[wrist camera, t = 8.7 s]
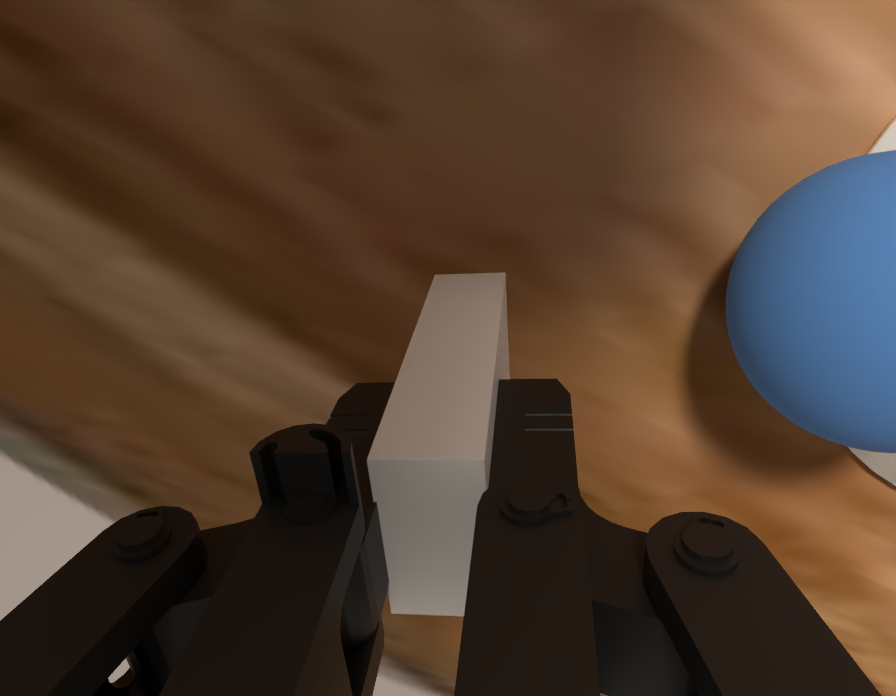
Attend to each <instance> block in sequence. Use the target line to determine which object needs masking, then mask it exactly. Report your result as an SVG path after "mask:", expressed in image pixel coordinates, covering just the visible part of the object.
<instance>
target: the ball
mask: <svg viewBox="0 0 896 696" xmlns="http://www.w3.org/2000/svg"><path fill="white" fill-rule="evenodd" d="M726 323H727V329H728V334H729V339H730V343H731V346H732V348H733V351H734V354H735V356H736V359H737V361H738V363H739V364H740V366H741V368H742V370H743V372H744V374H745V375H746V377H747V379H748V380H749V382H750V383H751V384H752V386H753V387H754V388H755V390H756V391H757V392H758V394H759V395H760V396H761V397H762V398H763V399H764V400H765V401H766V402H767V403H768V404H769V405H770V406H771V407H773V408H774V409H775V410H776V411H778V412H779V413H780V414H782V415H783V416H784V417H785V418H787V419H788V420H789V421H790V422H792V423H794V424H795V425H797V426H799V427H800V428H802V429H804V430H805V431H807V432H809V433H812V434H814V435H816V436H818V437H821V438H823V439H825V440H828V441H831V442H834V443H838V444H841V445H844V446H847V447H850V448H855V449H860V450H865V451H870V452H882V453H896V150H892V151H885V152H878V153H871V154H866V155H863V156H859V157H855V158H851V159H847V160H844V161H842V162H839V163H837V164H834V165H831V166H829V167H826V168H824V169H822V170H820V171H818V172H816V173H814V174H813V175H811V176H809V177H807V178H805V179H804V180H802V181H801V182H799V183H798V184H796V185H795V186H793V187H792V188H790V189H789V190H787V191H786V192H785V193H784V194H783V195H782V196H780V197H779V198H778V199H777V200H776V201H775V202H773V203H772V204H771V205H770V206H769V207H768V208H767V210H766V211H765V212H764V213H763V214H762V215H761V216H760V217H759V218H758V219H757V221H756V222H755V224H754V225H753V226H752V228H751V229H750V231H749V232H748V233H747V235H746V237H745V239H744V240H743V242H742V244H741V246H740V248H739V250H738V252H737V254H736V257H735V259H734V262H733V265H732V267H731V271H730V275H729V280H728V284H727V292H726Z"/></svg>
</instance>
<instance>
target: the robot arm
mask: <svg viewBox="0 0 896 696" xmlns="http://www.w3.org/2000/svg"><path fill="white" fill-rule="evenodd" d="M249 453H250V457H251V461H252V465H253V468H254V472H255V476H256V480H257V484H258V488H259V492H260V496H261V500H262V505H261V507H260V509H259V511H258V513H257V514H256V516H255V518H253V519H250V520H246V521H243V522H239V523H235V524H230V525H225V526H221V527H216V528H211V529H206V530H202V531H200V529H199V526H198V523H197V521H196V519H195V518H194V516H193V515H192V513H191V512H189V511H187V510H184V509H182V508H180V507H170V506H159V507H154V508H149V509H144V510H140V511H138V512H135V513H133V514H131V515H128V516H126V517H124V518H121V519H120V520H118V521H117V522H115V523H114V524H112V525H111V526H110V527H108V528H107V529H105V530H104V531H103V532H101V533H100V534H99V535H98V536H97V537H96V538H95V539H93V540H92V541H91V542H90V543H89V544H88V545H87V546H85V547H84V548H83V549H82V550H81V551H80V552H79V553H77V554H76V555H75V556H74V557H73V558H72V559H70V560H69V561H68V562H67V563H66V564H65V565H64V566H62V567H61V568H60V569H59V570H58V571H57V572H56V573H54V574H53V575H52V576H51V577H50V578H49V579H48V580H46V581H45V582H44V583H43V584H42V585H41V586H40V587H39V588H38V589H36V590H35V591H34V592H33V593H32V594H31V595H29V596H28V597H27V598H26V599H25V600H24V601H23V602H21V603H20V604H19V605H18V606H17V607H16V608H15V609H13V610H12V611H11V612H10V613H9V614H8V615H6V616H5V617H4V618H3V619H2V620H1V621H0V696H372V694H373V690H374V686H375V682H376V677H377V673H378V669H379V664H380V660H381V656H382V651H383V647H384V630H383V625H382V619H381V612H382V608H383V604H384V600H385V596H386V592H387V590H388V596H389V602H390V609H391V614H414V615H441V616H464V620H463V628H462V636H461V645H460V653H459V661H458V670H457V678H456V686H455V694H454V696H600V693H603V694H605V695H608V696H881V695H880V693H879V692H878V691H877V689H876V688H875V687H874V686H873V684H872V683H871V682H870V680H869V679H868V678H867V676H866V675H865V674H864V673H863V671H862V670H861V669H860V667H859V666H858V665H857V664H856V662H855V661H854V660H853V658H852V657H851V656H850V654H849V653H848V652H847V651H846V649H845V648H844V647H843V645H842V644H841V643H840V642H839V640H838V639H837V638H836V636H835V635H834V634H833V632H832V631H831V630H830V629H829V627H828V626H827V625H826V623H825V622H824V621H823V619H822V618H821V617H820V616H819V614H818V613H817V612H816V610H815V609H814V608H813V607H812V605H811V604H810V603H809V601H808V600H807V599H806V597H805V596H804V595H803V594H802V592H801V591H800V590H799V588H798V587H797V586H796V585H795V583H794V582H793V581H792V579H791V578H790V577H789V575H788V574H787V573H786V572H785V570H784V569H783V568H782V566H781V565H780V564H779V562H778V561H777V560H776V559H775V557H774V556H773V555H772V553H771V552H770V551H769V550H768V548H767V547H766V546H765V544H764V543H763V542H762V541H761V540H760V539H759V538H758V537H757V536H756V535H754V534H753V533H752V532H751V531H750V530H749V529H748V528H747V527H745V526H743V525H741V524H739V523H737V522H735V521H733V520H731V519H729V518H727V517H723V516H719V515H714V514H710V513H706V512H680V513H677V514H674V515H671V516H667V517H664V518H662V519H661V520H660V521H658V522H657V523H656V524H655V525H654V526H652V527H651V528H650V530H649V533H645V532H642V531H638V530H634V529H630V528H626V527H623V526H620V525H617V524H614V523H611V522H610V521H608V520H606V519H604V518H602V517H600V516H599V515H597V514H596V513H595V512H594V511H593V510H591V509H590V508H589V507H588V506H587V505H586V503H585V502H584V500H583V499H582V497H581V495H580V491H579V488H578V478H577V466H576V455H575V443H574V432H573V420H572V408H571V397H570V393H569V392H568V391H567V390H566V389H565V388H564V386H563V385H562V384H561V383H560V382H559V381H558V380H557V379H510V368H509V344H508V320H507V297H506V273H505V272H504V273H473V274H442V275H435V276H434V278H433V281H432V284H431V287H430V289H429V292H428V295H427V297H426V300H425V303H424V306H423V308H422V311H421V314H420V316H419V319H418V322H417V325H416V327H415V330H414V333H413V335H412V338H411V341H410V344H409V346H408V349H407V352H406V355H405V357H404V360H403V363H402V365H401V368H400V371H399V374H398V376H397V379H396V382H395V383H357V384H356V385H355V386H353V387H352V388H351V389H350V390H348V391H347V392H346V393H345V394H343V395H342V396H341V397H340V398H339V399H338V401H337V403H336V405H335V407H334V409H333V411H332V413H331V419H328V421H327V423H326V425H323V424H315V423H314V424H305V425H296V426H292V427H289V428H286V429H283V430H280V431H277V432H275V433H273V434H271V435H270V436H268V437H266V438H264V439H263V440H261V441H260V442H259V443H258V444H257V445H256V446H255V447H254V448H253V449H252V450H251V451H250V452H249ZM125 658H126V659H127V661H128V663H129V666H130V668H129V670H128V671H127V672H126V673H125V674H124V675H123V676H121V677H120V678H119V679H118V680H117V681H115V682H114V683H110V682H109V680H108V677H109V676H110V675H111V674H112V673H113V672H114V670H115V669H116V668H117V667H118V666H119V665H120V664H121V662H122V661H123V660H124V659H125Z"/></svg>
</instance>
